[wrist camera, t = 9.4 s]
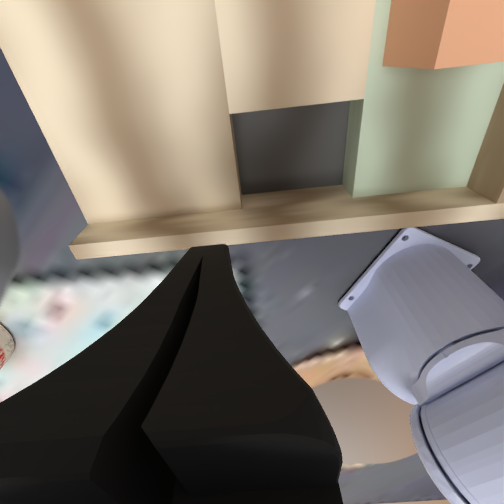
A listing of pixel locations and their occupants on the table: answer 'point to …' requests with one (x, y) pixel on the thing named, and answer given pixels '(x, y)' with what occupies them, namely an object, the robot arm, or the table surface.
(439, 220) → the trap box
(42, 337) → the table surface
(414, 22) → the block
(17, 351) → the table surface
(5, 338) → the teacup with lid
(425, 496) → the table surface
